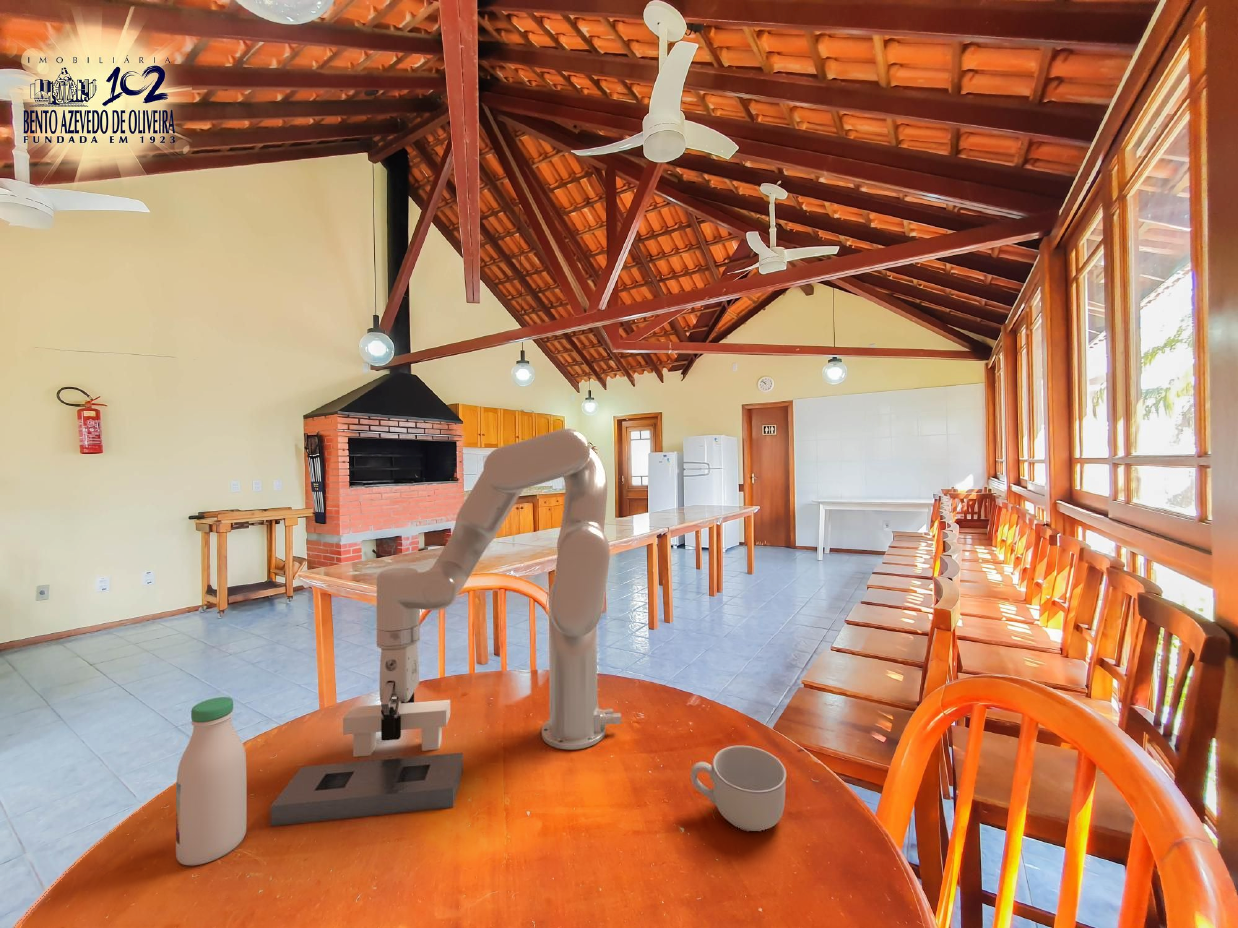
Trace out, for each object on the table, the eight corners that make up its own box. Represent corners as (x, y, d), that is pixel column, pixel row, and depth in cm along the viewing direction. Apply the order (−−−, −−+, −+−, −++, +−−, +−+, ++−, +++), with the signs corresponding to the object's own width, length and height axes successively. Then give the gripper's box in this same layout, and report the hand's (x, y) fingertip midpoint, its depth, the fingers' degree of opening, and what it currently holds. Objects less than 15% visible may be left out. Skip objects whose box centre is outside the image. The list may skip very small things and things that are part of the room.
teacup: (787, 802, 79) (786, 751, 80) (786, 852, 69) (785, 793, 69) (698, 785, 84) (698, 736, 84) (685, 829, 74) (685, 774, 74)
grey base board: (462, 769, 89) (462, 752, 89) (453, 807, 79) (453, 787, 79) (301, 784, 85) (301, 766, 85) (270, 826, 75) (270, 805, 75)
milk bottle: (259, 828, 74) (260, 691, 75) (212, 869, 67) (213, 717, 67) (211, 825, 75) (212, 689, 75) (159, 865, 68) (160, 715, 68)
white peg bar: (450, 738, 99) (450, 699, 99) (446, 750, 95) (446, 710, 95) (352, 746, 96) (352, 706, 96) (343, 759, 92) (343, 718, 92)
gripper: (407, 649, 88) (407, 748, 88) (429, 620, 105) (429, 703, 105) (361, 652, 87) (361, 752, 87) (390, 622, 104) (390, 705, 104)
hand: (398, 725), depth 96 cm, fingers open, 9 cm apart
